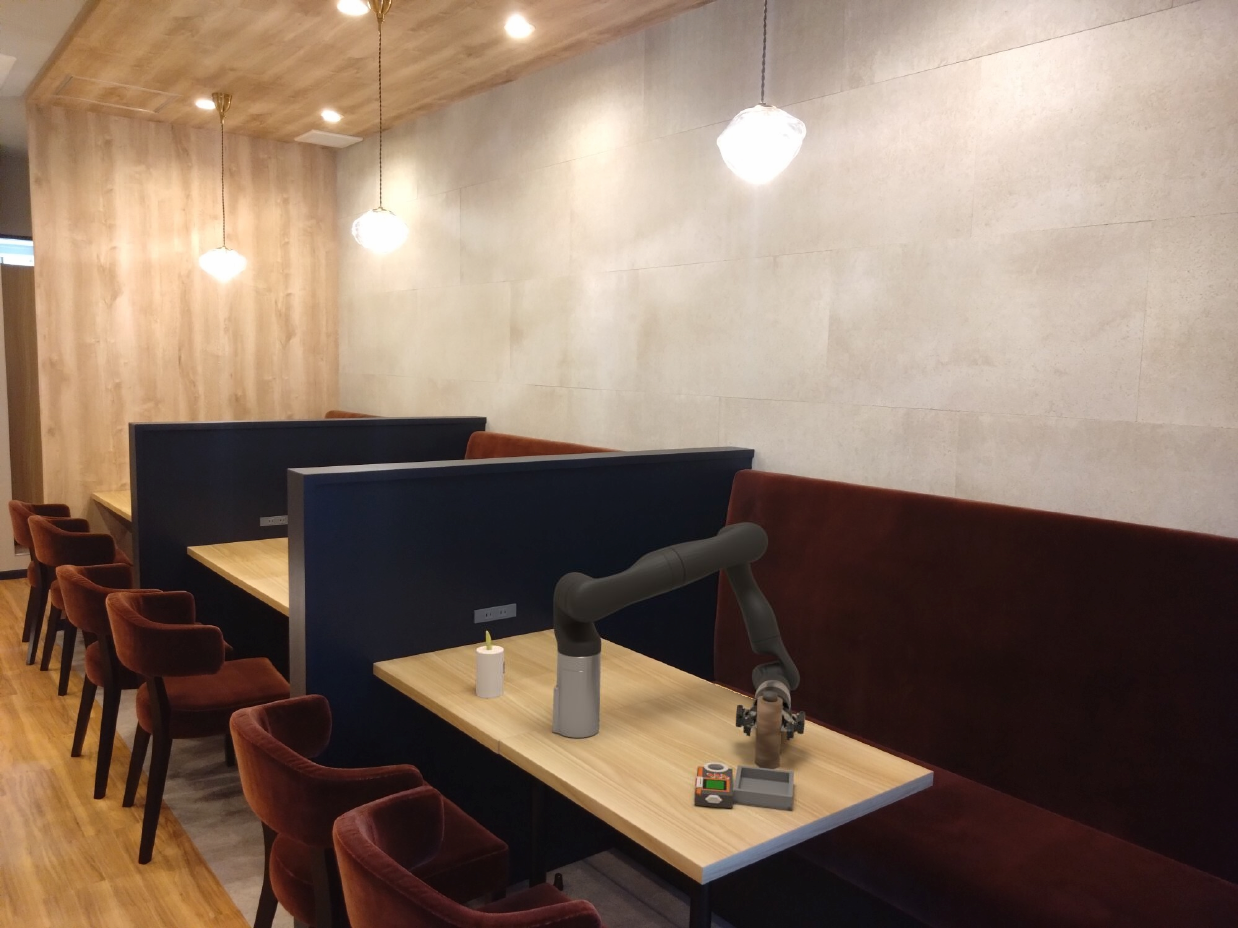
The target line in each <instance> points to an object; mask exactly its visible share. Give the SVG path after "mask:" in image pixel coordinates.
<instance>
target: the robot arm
mask: <svg viewBox="0 0 1238 928" xmlns="http://www.w3.org/2000/svg"><path fill="white" fill-rule="evenodd" d="M768 545H769V538H768V535H767V533H766V531H765V530H764V529H763V528H762V526H760V525H759V524H756V523H754V522H753V523H752V522H739V523H735V524H734V523H733V524H729V525H726V526H723V527H721V528H720V530H719V531H718V532H717V535H716V536H713V537H709V538H705V539H698V540H692V541H686V542H682V543H677V544H673V545H670V546H665V547H663V548H660V549H656V550H655V551H651V552H648V553H647V554H644V555H643V556H641V557H640V558H639V559H638V560H636V562H635V563H633V565H631V566H630V567H629V568H627V569H626V570H624V571H621V572H619V573H617V574H616V573H615V574H612V575H609V576H605V577H599V578H593V577H591V576H589V575H586V574H584V573H582V572H576V571H574V572H568V573H567V574H564V575H563V576H562V577H560V579H559V580H558V582H557V583H556V586H555V589H554V592H553V599H552V601H553V603H552V604H553V605H552V607H553V608H552V609H553V613H552V614H553V635H554V638H555V640H556V645H557V647H556V649H557V651H556V685H555V686H554V687H553V698H552V699H553V700H552V701H553V704H552V705H553V709H552V713H553V714H552V732H553V733H557V734H559V735H561V736H564V737H568V738H578V739H580V738H588V737H591V736H594V735H597V733H599V731H600V721H601V719H600V716H601V677H602V676H601V673H602V672H601V670H602V669H601V667H602V663H601V662H602V638H601V636H600V635H599V632H598V631H597V629H596V626H595V623H594V622H597V621H598V620H602V619H603V618H605V617H607V616H609V615H611V614H613V613H615V612H617V611H620V610H621V609H624V608H626V607H628V606H630V605H633V604H635V603H638V602H641V601H644V600H647V599H650V598H653V597H656V596H658V595H661V594H665V593H668V592H670V591H673V590H676V589H678V588H681V587H684V586H686V585H689V584H692V583H694V582H696V581H698V580H701V579H703V578H705V577H708V576H709V575H712V574H714V573H716V572H718V571H720V570H724V571H725V574H726V576H727V578H728V581H729V583H730V585H731V589H732V590H733V592H734V595H735V597H736V600H737V602H738V605H739V607H740V610H741V613H742V617H743V621H744V624H745V629H746V631H747V635H748V638H749V639H748V640H749V643H750V646H751V649H752V651H753V653H754V654H758V655H772V656H773V657H775V658H776V659H777V660H775V661H770V662H766V663H760V664H758V665H757V666H756V667H754V668H753V670H752V673H751V679H752V683H753V684H752V685H753V686H754V689H755V690H756V692H755V694H754V695H755V696H754V700H753V704H752V707H750V708H749V709H748V708H745V707H744V705H742V704H737V705H736V712H735V727H736V728H742V727H743V729H742V731H743V734H746V737H750V736H751V733H752V729H756V725H757V701H758V697H759V696H763V692H765V691H773V692H776V693H777V694H778V697H780V698H781V699H782V700H783V703H782V725H781V732H783V733H784V732H785V733H786V735H785V740H786V741H791V739H794V737H795V736H794V735H795V733H797V734H798V735H803V734H804V732H805V725H806V724H805V723H806V722H805V721H806V711H801V710H800V711H799V712H797V713H796V714H795V713H792V711H791V707H792V706H791V702H792V701H791V691H794V690H796V689H797V688H798V687H799V684H800V681H801V677H800V673H799V670H798V668H797V667H796V664H795V663H794V662H793V660H792V658H791V657H790V655H789V653H788V651H787V649H786V648H785V645H784V642H783V640H782V637H781V633H780V629H779V626H778V622H777V619H776V615H775V612H774V610H773V608H772V606H771V605H770V603H769V601H768V599H767V597H765V595H764V594H763V592H762V590H761V589H760V587H759V585H758V584H757V582H756V580H755V578H754V576H753V573H752V568H751V565H750V564H751V563H753V562H755V561H758V560H759V559H760V558H762V556H763V555H764V554H765V552H767V548H768Z"/></svg>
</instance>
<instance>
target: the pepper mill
mask: <svg viewBox="0 0 1238 928" xmlns="http://www.w3.org/2000/svg"><path fill="white" fill-rule="evenodd" d="M782 703H783V700H782V699H781V698H780V697H778V694H777V693H776V692H773V691H765V692H763V696H759V697H758V701H757V725H756V731H755V750H754V751H755V752H754V764H755V765H756V767H759V768H767V769H777V768H779V767H780V765H781V746H782V744H781V743H782V731H781V725H782Z"/></svg>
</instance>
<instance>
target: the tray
mask: <svg viewBox="0 0 1238 928" xmlns="http://www.w3.org/2000/svg"><path fill="white" fill-rule="evenodd" d="M794 777H795V771H792V770H784V769H777V768H775V769H767V768H761V767H758V766H756V767H755V766H749V765H748V766H747V765H740V764H737V767H736V773H735V779H734V781H733V803H732V804H735V805H743V806H750V807H751V806H752V807H760V808H767V809H774V810H775V809H776V810H781V811H782V810H783V811H793V799H794V798H793V796H794V780H795V779H794Z"/></svg>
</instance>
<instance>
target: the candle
mask: <svg viewBox="0 0 1238 928" xmlns="http://www.w3.org/2000/svg"><path fill="white" fill-rule="evenodd" d="M504 657H505V648H503V646H498V645H493V644H492V638H491V635H490V632H489V631H488V630H486V631H485V645H483V646H480V647H477V648H476V655H475V658H476V659H475V660H476V661H475V663H476V665H475V671H476V672H475V679H476V680H475V682H476V683H475V694H476V696H477V697H478V698H482V699H496V698H499V697H501V696H503V695H504V679H505V678H504V675H505V672H506V671H505V668H506V667H505V665H506V664H505V659H504Z"/></svg>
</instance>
